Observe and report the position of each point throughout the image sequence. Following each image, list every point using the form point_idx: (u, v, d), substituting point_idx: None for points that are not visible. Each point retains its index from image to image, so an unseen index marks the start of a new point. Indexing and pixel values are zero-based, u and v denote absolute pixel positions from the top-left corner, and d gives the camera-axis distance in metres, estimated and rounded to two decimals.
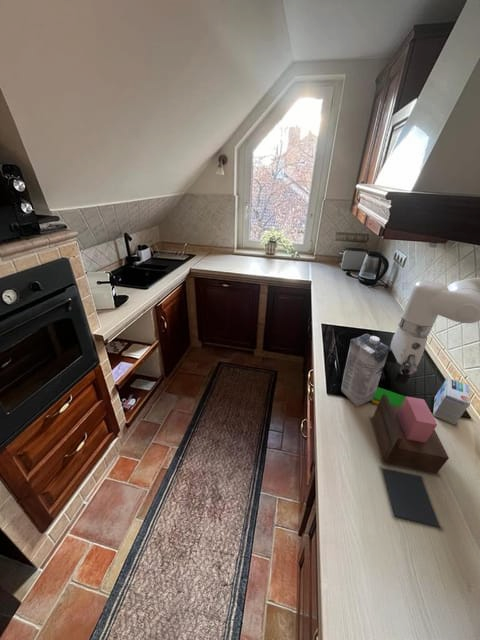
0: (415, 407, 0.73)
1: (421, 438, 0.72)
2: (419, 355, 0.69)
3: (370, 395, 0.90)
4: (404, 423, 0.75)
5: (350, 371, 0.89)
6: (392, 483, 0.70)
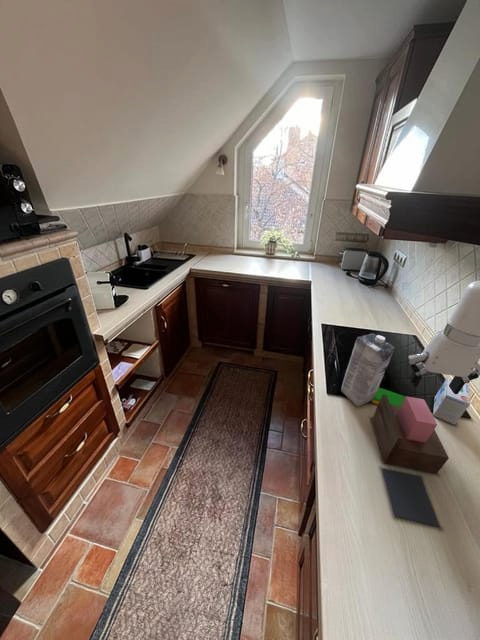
0: (415, 407, 0.73)
1: (421, 438, 0.72)
2: None
3: (370, 395, 0.90)
4: (404, 423, 0.75)
5: (353, 369, 0.89)
6: (392, 483, 0.70)
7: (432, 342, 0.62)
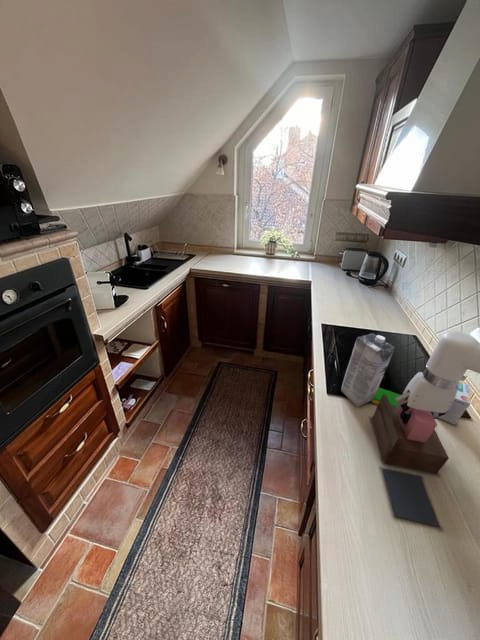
0: None
1: (421, 438, 0.72)
2: None
3: (370, 395, 0.90)
4: None
5: (353, 369, 0.89)
6: (392, 483, 0.70)
7: (413, 381, 0.69)
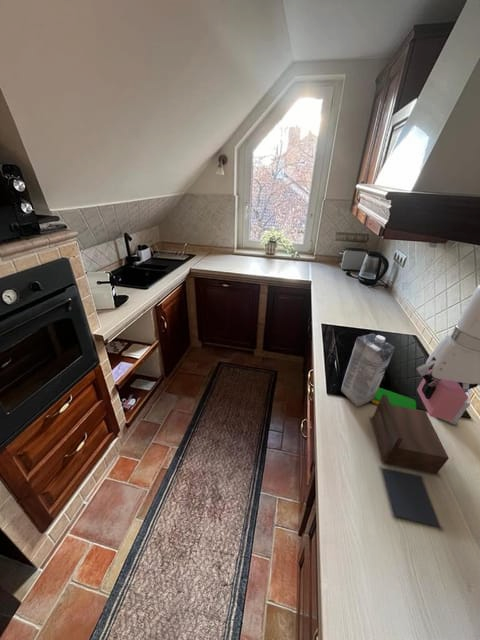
0: None
1: (448, 415, 0.61)
2: None
3: (370, 395, 0.90)
4: None
5: (353, 369, 0.89)
6: (392, 483, 0.70)
7: (439, 347, 0.58)
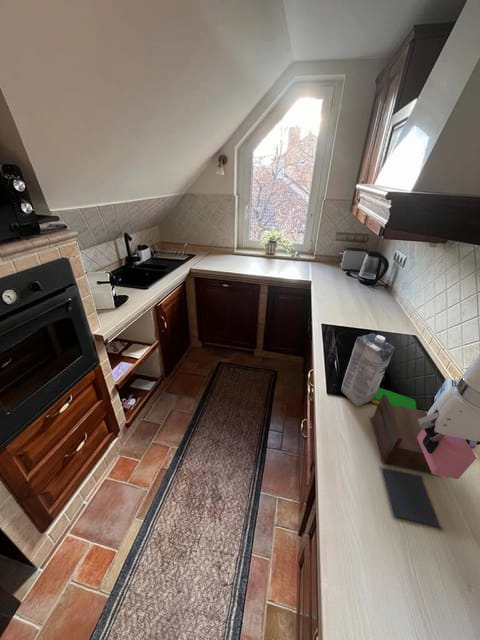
0: None
1: (452, 474, 0.54)
2: None
3: (370, 395, 0.90)
4: None
5: (353, 369, 0.89)
6: (392, 483, 0.70)
7: (443, 399, 0.51)
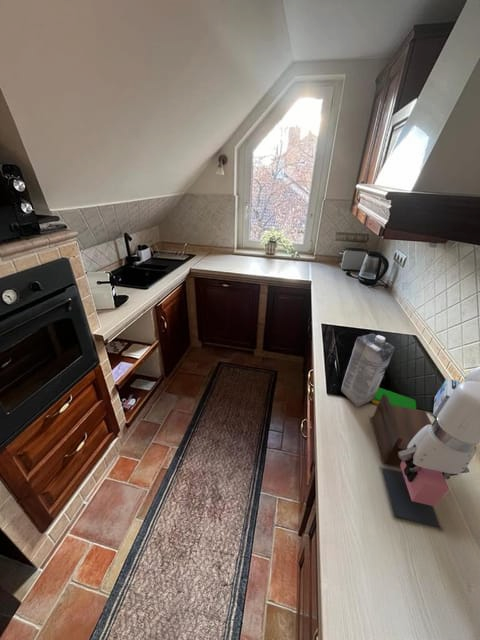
0: None
1: (429, 501, 0.60)
2: None
3: (370, 395, 0.90)
4: None
5: (353, 369, 0.89)
6: (392, 483, 0.70)
7: (420, 436, 0.57)
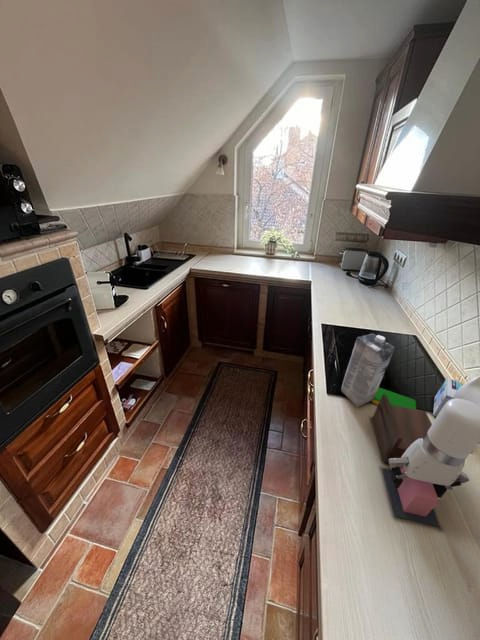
0: None
1: (421, 512, 0.63)
2: None
3: (370, 395, 0.90)
4: (401, 491, 0.66)
5: (353, 369, 0.89)
6: (392, 483, 0.70)
7: (412, 449, 0.60)
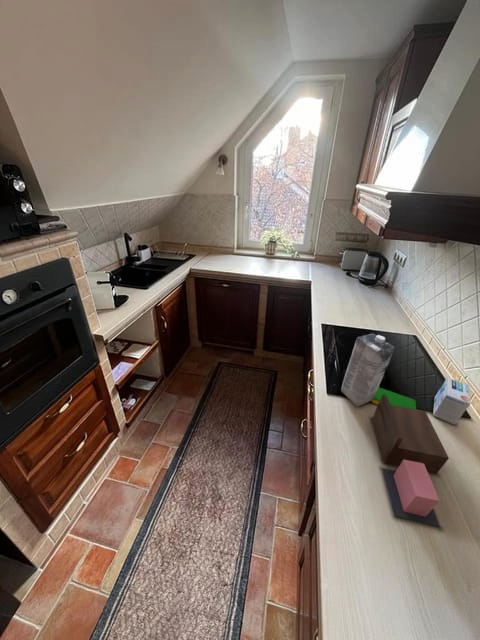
0: (414, 476, 0.64)
1: (421, 512, 0.63)
2: None
3: (370, 395, 0.90)
4: (401, 491, 0.66)
5: (353, 369, 0.89)
6: (392, 483, 0.70)
7: None
